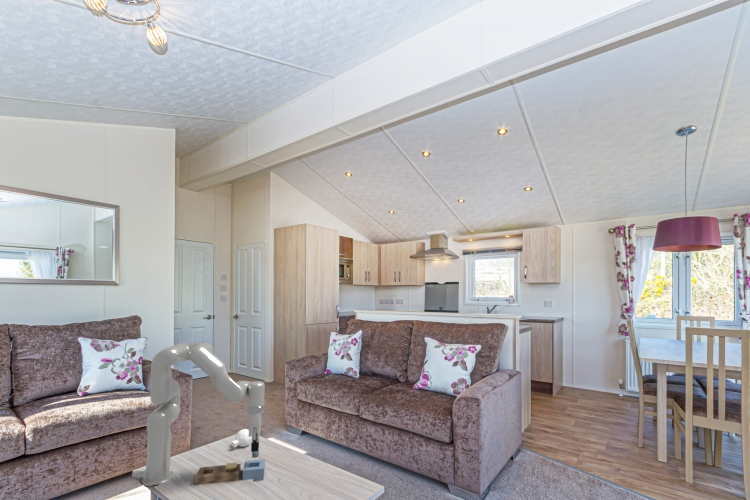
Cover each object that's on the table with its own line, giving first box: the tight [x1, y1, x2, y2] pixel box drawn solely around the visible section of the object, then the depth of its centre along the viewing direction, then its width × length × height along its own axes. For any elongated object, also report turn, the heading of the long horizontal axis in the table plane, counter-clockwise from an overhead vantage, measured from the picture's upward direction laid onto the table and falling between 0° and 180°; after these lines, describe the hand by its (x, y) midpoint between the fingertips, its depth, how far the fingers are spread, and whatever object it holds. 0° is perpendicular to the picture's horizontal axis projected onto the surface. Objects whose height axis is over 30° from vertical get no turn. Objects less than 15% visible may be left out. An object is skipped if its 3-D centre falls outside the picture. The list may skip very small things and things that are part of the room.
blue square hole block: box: [242, 458, 266, 482], centre depth 180 cm, size 9×10×5 cm
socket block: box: [194, 463, 242, 486], centre depth 177 cm, size 18×10×4 cm, turn 103°
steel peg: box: [251, 434, 260, 459], centre depth 181 cm, size 3×3×10 cm
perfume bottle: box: [231, 428, 252, 448], centre depth 213 cm, size 9×9×12 cm
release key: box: [225, 462, 238, 472], centre depth 178 cm, size 4×4×5 cm
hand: (255, 449), depth 181 cm, fingers closed on steel peg, 3 cm apart
